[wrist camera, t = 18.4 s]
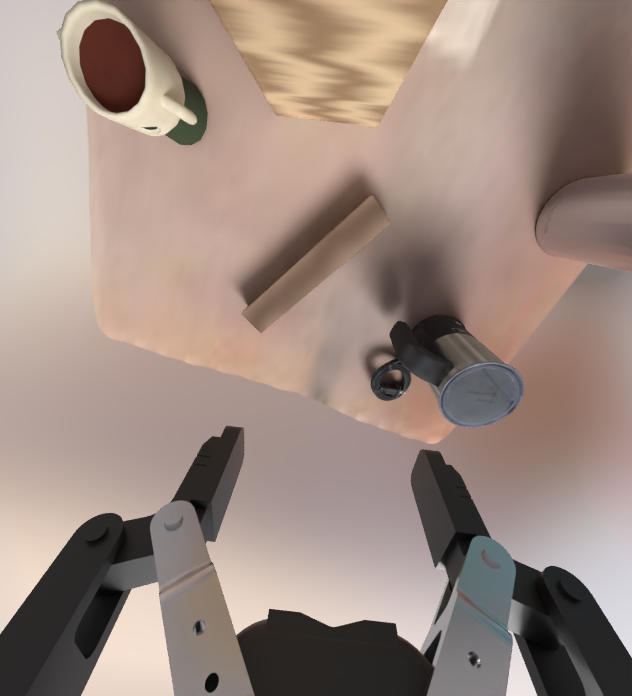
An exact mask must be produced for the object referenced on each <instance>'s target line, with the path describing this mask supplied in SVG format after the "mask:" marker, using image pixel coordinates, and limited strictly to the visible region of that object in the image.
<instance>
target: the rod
mask: <svg viewBox="0 0 632 696" xmlns="http://www.w3.org/2000/svg"><path fill="white" fill-rule="evenodd" d="M390 224H391V221H390V220H389V218H388V217H387V215H386V214H385V213H384V211H383V210H382V208H381V207H380V205H379V204H378V202H377V201H376V199H375V198H374V197H373V195H370V196H368V197H367V198H366V199H365V200H364V201H363V202H362V203H361V204H359V205H358V206H357V207H356V208H355V209H354V210H353V211H352V212H351V213H350V214H348V215H347V216H346V217H345V218H344V219H343V220H342V221H341V222H340V223H339V224H337V225H336V226H335V227H334V228H333V229H332V230H331V231H330V232H329V233H328V234H326V235H325V236H324V237H323V238H322V239H321V240H320V241H319V242H318V243H317V244H315V245H314V246H313V247H312V248H311V249H310V250H309V251H308V252H307V253H306V254H304V255H303V256H302V257H301V258H300V259H299V260H298V261H297V262H296V263H295V264H293V265H292V266H291V267H290V268H289V269H288V270H287V271H286V272H285V273H284V274H282V275H281V276H280V277H279V278H278V279H277V280H276V281H275V282H274V283H273V284H271V285H270V286H269V287H268V288H267V289H266V290H265V291H264V292H263V293H262V294H260V295H259V296H258V297H257V298H256V299H255V300H254V301H253V302H252V303H251V304H249V305H248V306H247V308H246V309H245V310H244V311H243V312H242V313H241V314H242V315H243V316H244V317H245V318H246V319H247V320H248V321H249V322H250V323H251V324H252V325H253V326H254V327H255V328H256V329H257V330H258V331H259V332H260V333H262V332H263V331H264V330H265V329H267V328H268V327H269V326H270V325H271V324H273V323H274V322H275V321H276V320H277V319H279V318H280V317H281V316H282V315H283V314H284V313H286V312H287V311H288V310H289V309H290V308H292V307H293V306H294V305H295V304H296V303H297V302H299V301H300V300H301V299H302V298H303V297H305V296H306V295H307V294H308V293H309V292H311V291H312V290H313V289H314V288H315V287H316V286H318V285H319V284H320V283H321V282H322V281H324V280H325V279H326V278H327V277H328V276H329V275H331V274H332V273H333V272H334V271H335V270H337V269H338V268H339V267H340V266H341V265H343V264H344V263H345V262H346V261H347V260H348V259H350V258H351V257H352V256H353V255H354V254H356V253H357V252H358V251H359V250H360V249H361V248H363V247H364V246H365V245H366V244H367V243H369V242H370V241H371V240H372V239H373V238H375V237H376V236H377V235H378V234H379V233H380V232H382V231H383V230H384V229H385V228H386V227H388V226H389V225H390Z"/></svg>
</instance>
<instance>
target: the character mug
mask: <svg viewBox="0 0 632 696" xmlns="http://www.w3.org/2000/svg"><path fill="white" fill-rule="evenodd" d="M57 35H58V38H59V40H60V45H61V57H62V60H63V63H64V66H65V69H66V72H67V75H68V77H69V80H70V82H71V83H72V85H73V86H74V88H75V90H76V91H77V93H78V95H79V96H80V98H81V99H82V100H83V101H84V102H85V103H86V104H87V105H88V106H89V107H90V108H91V109H92V110H94V111H95V112H96V113H98V114H99V115H102V116H104V117H106V118H108V119H110V120H113V121H115V122H117V123H120V124H122V125H125V126H127V127H129V128H131V129H134V130H136V131H139V132H142V133H144V134H147V135H150V136H161V135H166V136H168V137H169V138H171V139H173V140H174V141H176V142H177V143H179V144H181V145H192V144H194V143H196V142H197V141H199V140H201V138H202V136H203V134H204V132H205V130H206V125H207V114H208V113H207V109H206V105H205V101H204V98H203V96H202V95H201V93H200V92H199V90H198V89H197V87H196V86H195V85H193V84H192V83H190V82H189V81H187V80H186V79H184V78H183V77H181V76H180V74H179V73H178V71H177V69H176V67H175V65H174V63H173V61H172V60H171V58H170V57H169V56H168V55H167V54H166V53H165V52H164V51H163V50H161V49H160V48H159V47H158V46H157V45H156V44H155V43H154V42H153V41H152V40H151V39H150V38H149V37H148V36H147V35H146V34H145V33H144V32H143V31H141V30H140V29H139V28H138V27H137V26H136V25H135V24H134V23H133V22H132V21H131V20H130V19H129V18H128V17H127V16H126V15H125V14H123V13H122V12H121V11H120V10H119V9H118V8H117V7H116V6H114V5H111V4H109V3H106V2H104V1H101V0H83V1H78V2H77V3H76V4H75V5H74V6H73V7H72V8H71V9H70V10H69V11H68V12H67V13H66V14H65V17H64V21H63V24H62V27H61V29H59V30H58V31H57Z"/></svg>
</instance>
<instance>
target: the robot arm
mask: <svg viewBox="0 0 632 696" xmlns="http://www.w3.org/2000/svg"><path fill="white" fill-rule="evenodd" d="M536 238H537V241H538V244H539V246H540V247H541V248H542V249H543V250H544V251H545V252H546V253H548V254H550V255H553V256H557V257H562V258H567V259H571V260H576V261H580V262H585V263H590V264H595V265H600V266H605V267H609V268H614V269H619V270H624V271H628V272H632V173H624V174H615V175H607V176H599V177H591V178H583V179H580V180H576V181H573V182H571V183H569V184H568V185H566V186H564V187H563V188H561V189H560V190H559V191H557V192H556V193H555V194H554V195H553V196H552V197H551V198H550V199H549V200H548V202H547V203H546V204H545V206H544V207H543V209H542V211H541V213H540V215H539V218H538V221H537V225H536ZM243 458H244V428H242V427H232V426H226V427H225V429H224V431H223V433H222V435H221V437H214V436H213V437H211V438H210V439H209V440H208V441H207V442H205V443H204V444H203V445H202V447H201V449H200V451H199V453H198V454H197V457H196V458H195V460H194V462H193V464H192V466H191V467H190V469H189V471H188V473H187V474H186V476H185V478H184V480H183V482H182V484H181V485H180V487H179V489H178V491H177V493H176V495H175V497H174V498H173V500H172V501H171V502H170V503H169V504H167V505H165V506H163V507H162V508H161V509H160V510H159V511H158V512H157V513H156V514H154V515H151V516H148V517H143V518H138V519H133V520H128V521H123V520H122V518H121V517H120V516H119V515H117V514H114V513H105V514H101V515H98V516H95V517H93V518H91V519H90V520H88V521H87V522H85V523H84V524H83V525H81V526H80V527H79V528H78V529H77V530H76V532H75V533H74V534H73V536H72V537H71V538H70V540H69V541H68V542H67V544H66V545H65V547H64V548H63V549H62V551H61V552H60V554H59V555H58V556H57V557H56V559H55V560H54V562H53V563H52V564H51V566H50V567H49V569H48V570H47V571H46V572H45V574H44V575H43V577H42V578H41V579H40V581H39V582H38V584H37V585H36V586H35V587H34V589H33V590H32V592H31V593H30V594H29V596H28V597H27V598H26V600H25V601H24V603H23V604H22V605H21V607H20V608H19V609H18V611H17V612H16V614H15V615H14V616H13V618H12V619H11V620H10V622H9V623H8V624H7V626H6V627H5V629H4V630H3V631H2V633H1V634H0V696H81V694H82V692H83V690H84V688H85V686H86V684H87V681H88V680H89V678H90V675H91V673H92V671H93V669H94V667H95V665H96V663H97V661H98V658H99V656H100V654H101V652H102V650H103V648H104V646H105V644H106V642H107V640H108V637H109V635H110V633H111V631H112V629H113V627H114V625H115V623H116V621H117V619H118V616H119V614H120V612H121V610H122V608H123V606H124V604H125V602H126V600H127V597H128V595H129V593H130V591H131V589H132V588H136V587H140V586H143V585H147V584H151V583H155V582H158V583H159V590H160V593H159V597H160V605H161V611H162V618H163V623H164V630H165V637H166V643H167V650H168V656H169V662H170V669H171V676H172V682H173V689H174V695H175V696H506V690H507V683H508V675H509V668H510V661H511V653H512V645H513V640H512V635H511V634H510V633H509V632H508V630H510V631H512V632H513V633H514V636H515V638H516V641H517V643H518V646H519V649H520V651H521V654H522V657H523V659H524V662H525V664H526V667H527V669H528V672H529V675H530V677H531V680H532V682H533V685H534V688H535V690H536V693H537V695H538V696H632V658H631V656H630V655H629V653H628V651H627V650H626V648H625V647H624V645H623V643H622V642H621V640H620V639H619V637H618V635H617V634H616V632H615V631H614V629H613V628H612V626H611V624H610V623H609V621H608V619H607V618H606V616H605V615H604V613H603V612H602V610H601V608H600V607H599V605H598V604H597V602H596V600H595V599H594V597H593V596H592V594H591V593H590V592H589V590H588V589H587V588H586V586H584V584H583V583H582V582H581V581H580V580H579V579H577V578H576V577H575V576H574V575H572V574H571V573H569V572H568V571H566V570H564V569H562V568H559V567H556V566H549V567H547V568H545V569H544V571H543V572H540V571H538V570H535V569H533V568H531V567H528V566H526V565H524V564H522V563H519V562H517V561H515V560H513V559H512V557H511V556H510V554H509V553H508V552H507V550H506V549H505V548H504V547H503V546H502V545H500V544H499V543H497V542H496V541H495V540H493V539H491V537H490V535H489V533H488V531H487V529H486V527H485V525H484V523H483V521H482V519H481V516H480V514H479V512H478V510H477V508H476V506H475V504H474V502H473V500H472V499H471V496H470V494H469V492H468V490H467V489H466V485H465V483H464V481H463V480H462V478H461V476H460V475H459V473H458V472H457V471H456V470H455V469H454V468H453V467H452V466H451V465H446V464H445V462H444V459H443V457H442V455H441V453H440V452H438V451H431V450H420V452H419V454H418V457H417V460H416V462H415V465H414V468H413V471H412V474H411V485H412V490H413V493H414V496H415V500H416V504H417V507H418V510H419V514H420V517H421V521H422V524H423V528H424V531H425V535H426V538H427V542H428V545H429V549H430V552H431V555H432V559H433V563H434V566H435V568H436V569H442V570H446V571H447V575H448V578H449V579H448V580H447V582H446V585H445V588H444V591H443V594H442V596H441V599H440V602H439V605H438V608H437V611H436V614H435V616H434V619H433V622H432V625H431V628H430V630H429V633H428V635H427V637H426V639H425V641H424V643H423V646H422V649H421V650H420V651H419V650H418V649H417V648H415V647H414V646H413V645H412V644H411V643H409V642H408V641H406V640H405V639H403V638H402V637H400V636H398V635H397V629H396V624H394V623H386V622H378V621H368V620H363V621H359V622H355V623H350V624H346V625H343V626H338V627H330V626H328V625H325V624H323V623H321V622H319V621H317V620H315V619H313V618H311V617H309V616H307V615H304V614H302V613H300V612H292V611H283V610H275V609H269V614H268V619H266V620H262V621H259V622H256V623H254V624H252V625H250V626H248V627H247V628H245V629H244V630H242V631H241V632H240V633H239V634H237V635H236V634H235V631H234V628H233V624H232V621H231V618H230V615H229V612H228V608H227V605H226V602H225V599H224V595H223V592H222V589H221V586H220V583H219V579H218V576H217V573H216V570H215V567H214V564H213V563H212V562H211V560H210V557H209V554H208V551H207V548H206V542H207V541H213V542H215V540H216V538H217V535H218V532H219V529H220V526H221V523H222V520H223V517H224V515H225V512H226V509H227V506H228V503H229V501H230V498H231V495H232V492H233V489H234V486H235V483H236V481H237V478H238V475H239V472H240V469H241V466H242V463H243Z"/></svg>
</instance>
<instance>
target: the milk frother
mask: <svg viewBox="0 0 632 696" xmlns="http://www.w3.org/2000/svg"><path fill="white" fill-rule="evenodd" d="M390 338H391V341H392V344H393V347H394V350H395V353H396V356H397V358H396V359H394V360H392V361H390V362H388V363H386V364H384V365H382V366H381V367H380V368H379V369H378V370H377V371H376V372H375V373H374V375H373V376H372V379H371V388H372V391H373V393H374V394H375V395H376V396H377V397H378V398H379V399H381V400H384V401H390V400H394V399H396V398H398V397H400V396H401V395H402V394H405V391H406V390H407V388H408V387H409V385H410V382H411V374H410V372H411V373H413V374H414V375H416V376H417V377H419V378H421V379H422V380H424V381H426V382H427V383H428V384H429V386H430V388H431V390H432V392H433V393H434V395H435V397H436V399H437V401H438V403H439V409H440V411H441V413H442V415H443V416H444V417H445V418H446V419H447V420H448V421H449V422H451V423H453V424H455V425H458V426H462V427H469V428H471V427H472V428H475V427H482V426H487V425H490V424H493V423H495V422H497V421H500V420H501V419H503V418H504V417H506V416H507V415H509V414H511V413H512V412H513V411H514V410H515V409H516V408H517V406H518V404H519V403H520V400H521V398H522V396H523V393H524V382H523V379H522V377H521V375H520V373H519V372H518V371H517V370H515V369H514V368H513V367H511V366H509V365H507V364H504V363H503V362H502V361H501V360H500V359H499V358H498V357H497V356H495V355H494V354H493V353H492V352H491V351H490V350H489V349H487V348H486V347H485V346H484V345H483V344H482V343H480V342H479V341H478V340H477V339H476V338H475V337H474V336H472V335H471V334H470V333H469V332H468V331H467V330H466V329H465V327H464V325H463V324H462V323H461V322H460V321H459V320H457V319H455V318H453V317H450V316H445V315H438V316H433V317H430V318H427V319H425V320H423V321H422V322H420V323H419V324H418V325H417V326H416V327H415V328H414V329H413V330H412V331H411V330H410V328H409V326H408V325H407V324H406V323H405V322H402V321H398V322H397V323H396V324H395V325H394V326H393V328H392V330H391V332H390ZM398 362H401V363H398ZM391 370H399V371H401V372H402V374H403V377H404V381H403V384H402V387H401V388H400V387H399V386H398V385H397V384H396V383H395V382H392V383H383V384H380V380H381V378H382V376H383V375H384V374H386V373H387V372H389V371H391ZM382 391H383V392H384V393H383V392H382ZM387 393H388V394H387Z"/></svg>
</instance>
